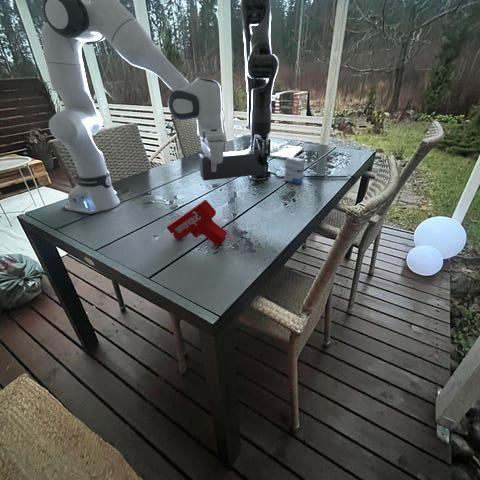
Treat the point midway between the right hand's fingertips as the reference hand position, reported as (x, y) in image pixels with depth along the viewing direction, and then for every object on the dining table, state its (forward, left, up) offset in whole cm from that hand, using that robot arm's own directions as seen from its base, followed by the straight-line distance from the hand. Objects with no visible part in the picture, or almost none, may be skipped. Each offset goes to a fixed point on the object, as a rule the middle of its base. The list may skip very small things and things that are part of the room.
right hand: (259, 162), depth 109 cm
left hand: (+19, +5, 0) cm, 20 cm away
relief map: (-21, -87, -19) cm, 92 cm away
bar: (+11, +3, -4) cm, 12 cm away
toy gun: (+25, +27, -19) cm, 41 cm away
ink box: (-22, -27, -19) cm, 40 cm away
